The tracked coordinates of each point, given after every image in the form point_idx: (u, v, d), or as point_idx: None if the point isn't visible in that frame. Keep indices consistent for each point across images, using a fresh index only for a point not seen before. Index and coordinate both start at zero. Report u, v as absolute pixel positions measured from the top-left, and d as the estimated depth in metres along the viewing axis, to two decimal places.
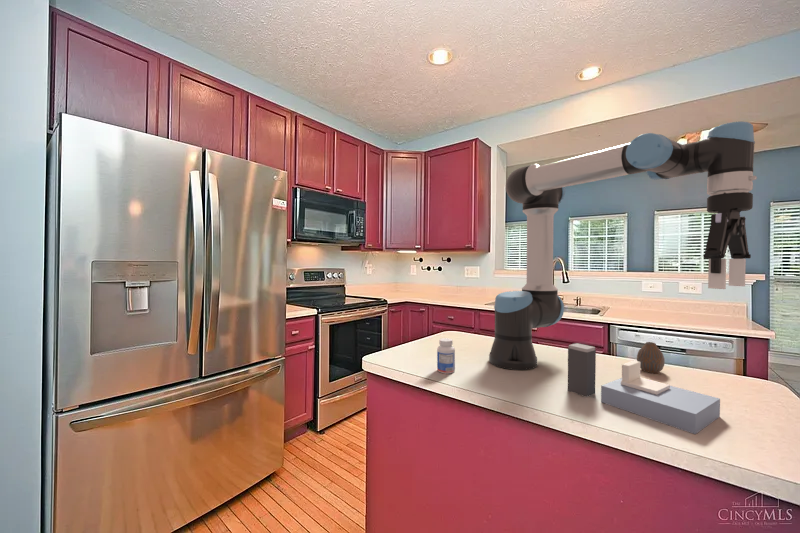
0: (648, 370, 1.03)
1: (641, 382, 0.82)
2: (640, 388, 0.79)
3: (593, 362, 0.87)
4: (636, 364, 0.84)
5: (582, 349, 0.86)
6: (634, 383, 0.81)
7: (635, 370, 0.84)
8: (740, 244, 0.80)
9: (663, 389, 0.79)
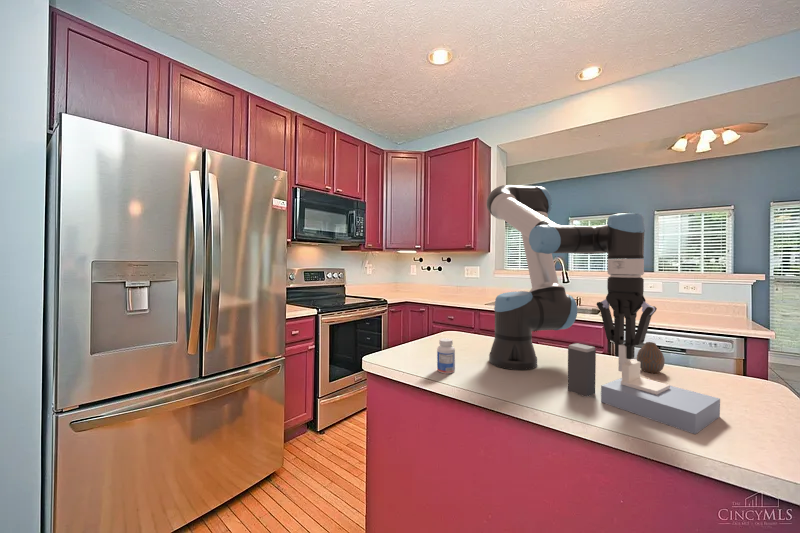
0: (648, 370, 1.03)
1: (641, 382, 0.82)
2: (640, 388, 0.79)
3: (593, 362, 0.87)
4: (636, 364, 0.84)
5: (582, 349, 0.86)
6: (634, 383, 0.81)
7: (635, 370, 0.84)
8: None
9: (663, 389, 0.79)
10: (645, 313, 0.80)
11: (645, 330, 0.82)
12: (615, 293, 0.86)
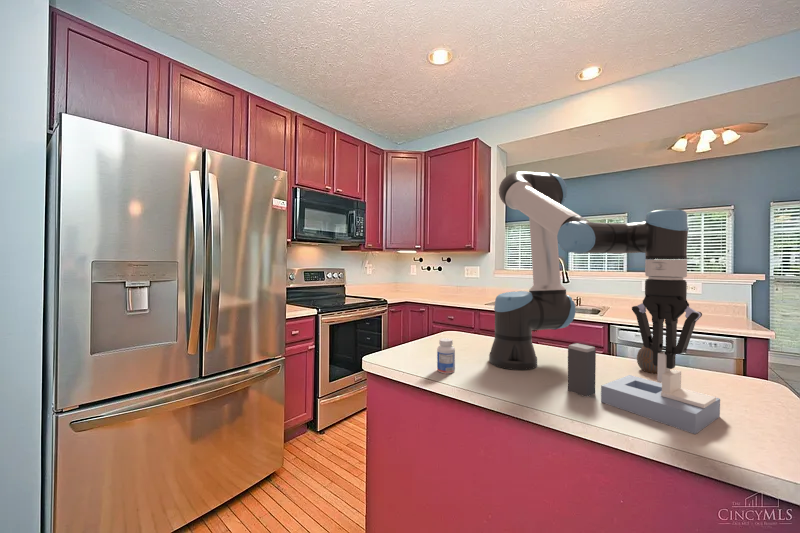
0: (648, 370, 1.03)
1: (684, 394, 0.75)
2: (684, 401, 0.72)
3: (593, 362, 0.87)
4: (677, 374, 0.77)
5: (582, 349, 0.86)
6: (677, 395, 0.74)
7: (676, 381, 0.77)
8: None
9: (710, 402, 0.72)
10: (690, 319, 0.73)
11: (689, 337, 0.75)
12: (654, 297, 0.79)
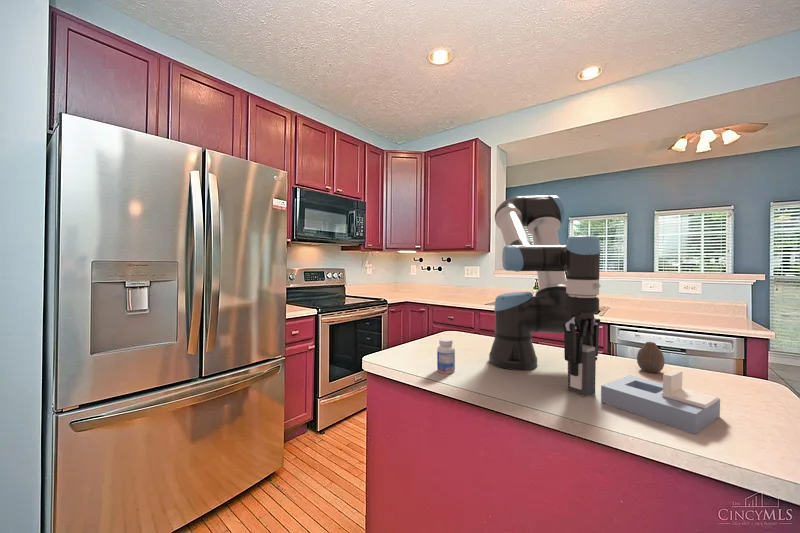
0: (648, 370, 1.03)
1: (685, 394, 0.75)
2: (685, 401, 0.72)
3: (593, 362, 0.87)
4: (678, 374, 0.77)
5: (582, 349, 0.86)
6: (678, 396, 0.74)
7: (678, 381, 0.77)
8: (589, 343, 0.89)
9: (711, 402, 0.71)
10: (598, 325, 0.90)
11: None
12: (583, 314, 0.87)
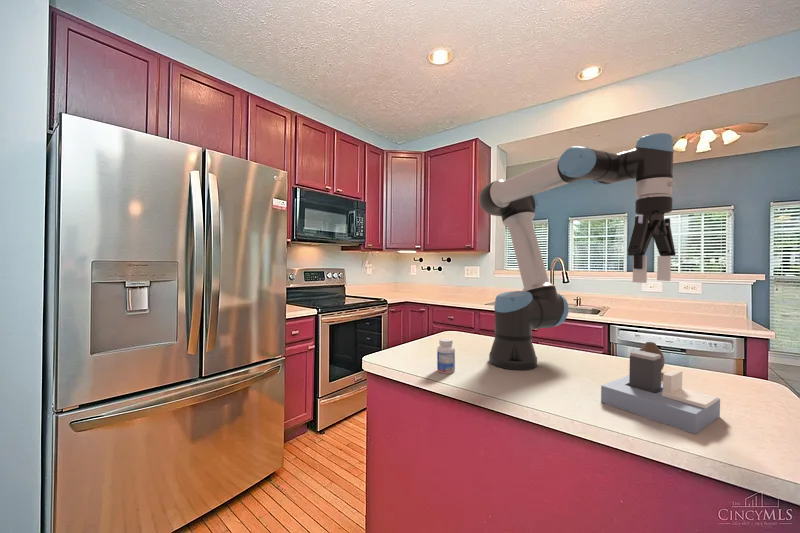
0: None
1: (685, 394, 0.75)
2: (685, 401, 0.72)
3: (659, 371, 0.80)
4: (678, 374, 0.77)
5: (647, 357, 0.79)
6: (678, 396, 0.74)
7: (678, 381, 0.77)
8: (665, 243, 0.89)
9: (711, 402, 0.71)
10: (669, 225, 0.89)
11: None
12: (656, 219, 0.85)
